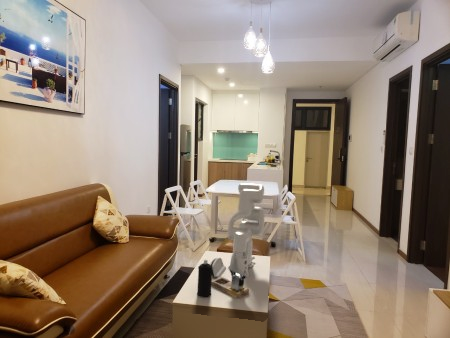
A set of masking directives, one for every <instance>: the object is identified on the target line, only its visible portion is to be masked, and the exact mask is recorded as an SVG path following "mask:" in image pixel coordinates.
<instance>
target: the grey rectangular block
mask: <svg viewBox="0 0 450 338" xmlns="http://www.w3.org/2000/svg"><path fill="white" fill-rule="evenodd" d="M242 277H243V275H242ZM240 279H241V278H240V274H238V273H236V274H235V275H233V276H231V281H232V283H231V290H233V291H235V292H237V293H238V292H240V291H242V290H243V287H245V286H244V285H242V286H239V284H240Z"/></svg>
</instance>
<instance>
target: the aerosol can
mask: <svg viewBox="0 0 450 338" xmlns="http://www.w3.org/2000/svg"><path fill="white" fill-rule="evenodd" d="M197 268H198V271H197V272H198V273H197V274H198V276H197V292H196V295H197V296H198V297H199V298H210V297H211V296H212V285H211V282H212V280H213V279H212V269H213V267H212V266H211V265H210V263H209V262H208V259H204V260H203V262H202V263H200V264H199V265H198V267H197Z"/></svg>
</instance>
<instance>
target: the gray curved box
mask: <svg viewBox="0 0 450 338" xmlns="http://www.w3.org/2000/svg"><path fill="white" fill-rule="evenodd" d="M209 264H210V265H211V266H212V267H213V269H212V278H213V279H214V278H216V279H217V278H219V277H222V275H223V274H224V273H225V271H226V270H227V267H226V266H225V265H224V262H223V259H222V257H216V258H213V259H212V260H211V261H210V263H209Z"/></svg>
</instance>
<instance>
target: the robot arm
mask: <svg viewBox="0 0 450 338" xmlns="http://www.w3.org/2000/svg"><path fill="white" fill-rule="evenodd" d="M237 190H238V193H239V198H238V207H237V211H236V212H235V213H234V214H233V215H232V216H231V217H230V219H229V222H228V227H227V233H226V234H227V239H229V240H231V241H233V244H232V245H233V246H232V254H231V257H230V262H229V263H230V265H229V266H228V268H227V269H228V270H229V272H230V275H231V277H232V276H233V275H235V274H240V278H241V279H240V284H239V286H242V285H244V284H245V279H246V278H248V277H249V276H250V274H249V269H250V268H252V267H254V263H253V260H255V259H256V258H255V256H253V239H252V236H255V237H256V236H257V237H261V236H262V235H264V232H265V231H264V230H265V209H264V208H263V207H261V206H255V204H261V203H262V202H263V200H264V195H265V186H264V185H262V184H259V183H258V184H257V183H245V182H244V183H243V182H242V183H239V184H238V187H237ZM241 219H243V220H241ZM238 220H241V221H240V222H239V224H238V226H237V227H236V226H235V227H234V225H235V223H236V222H237V221H238ZM242 276H243V277H242Z"/></svg>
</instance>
